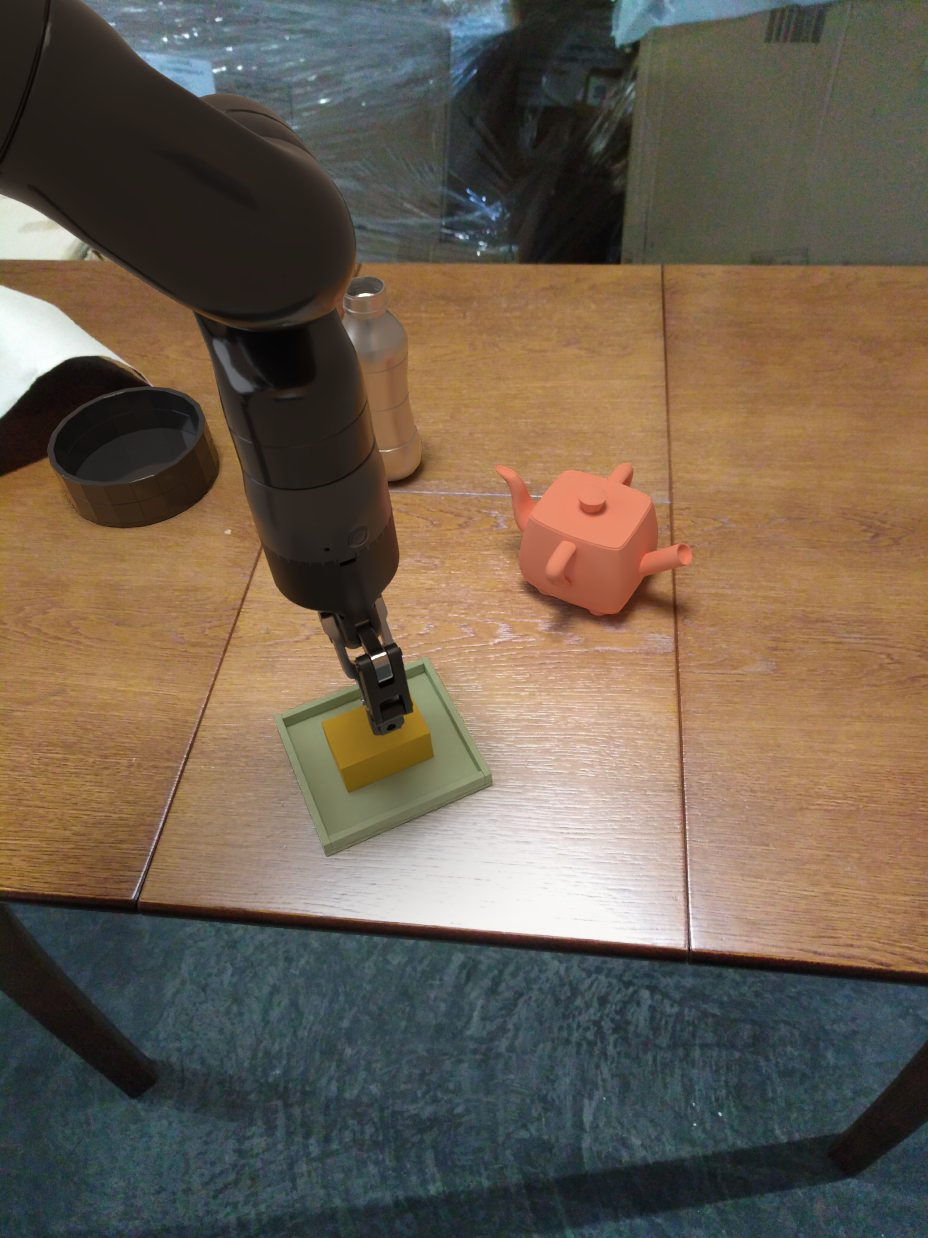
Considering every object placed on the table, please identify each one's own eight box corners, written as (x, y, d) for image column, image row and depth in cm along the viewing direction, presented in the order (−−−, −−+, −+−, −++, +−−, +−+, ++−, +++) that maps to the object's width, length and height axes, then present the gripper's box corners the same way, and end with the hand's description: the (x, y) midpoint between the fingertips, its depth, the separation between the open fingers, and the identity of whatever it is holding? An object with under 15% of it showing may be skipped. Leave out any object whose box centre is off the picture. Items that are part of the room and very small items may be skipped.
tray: (326, 857, 64) (322, 846, 63) (277, 727, 71) (273, 716, 70) (492, 784, 67) (492, 773, 66) (429, 667, 74) (427, 655, 73)
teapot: (647, 521, 84) (659, 435, 76) (684, 617, 76) (702, 532, 68) (497, 542, 83) (493, 458, 75) (520, 641, 76) (518, 559, 68)
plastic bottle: (417, 492, 88) (395, 309, 73) (351, 487, 89) (315, 305, 74) (429, 449, 92) (410, 267, 77) (365, 445, 93) (334, 265, 78)
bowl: (82, 547, 86) (59, 505, 82) (59, 455, 95) (38, 413, 91) (235, 496, 89) (221, 453, 85) (199, 413, 98) (184, 370, 94)
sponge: (348, 793, 67) (340, 769, 64) (328, 746, 69) (320, 722, 67) (434, 757, 68) (430, 732, 66) (411, 713, 71) (407, 687, 68)
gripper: (224, 455, 53) (283, 628, 65) (297, 622, 44) (349, 784, 57) (343, 416, 54) (379, 592, 67) (436, 570, 46) (457, 738, 58)
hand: (365, 680), depth 62 cm, fingers open, 8 cm apart
